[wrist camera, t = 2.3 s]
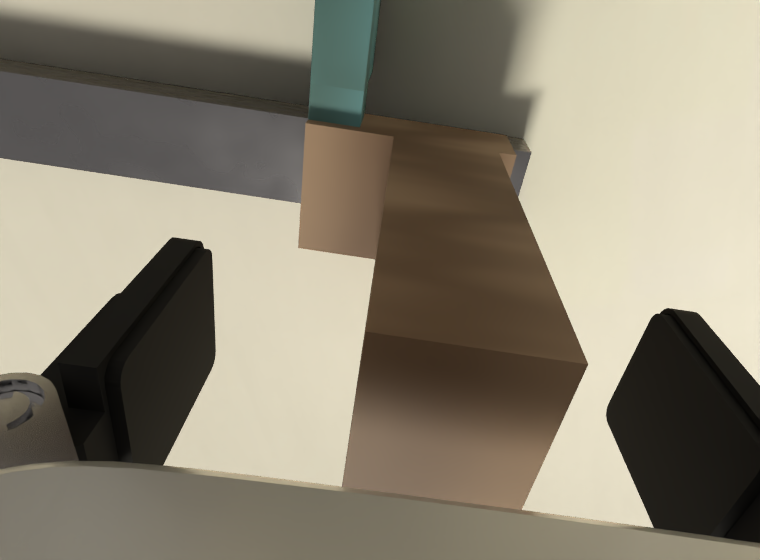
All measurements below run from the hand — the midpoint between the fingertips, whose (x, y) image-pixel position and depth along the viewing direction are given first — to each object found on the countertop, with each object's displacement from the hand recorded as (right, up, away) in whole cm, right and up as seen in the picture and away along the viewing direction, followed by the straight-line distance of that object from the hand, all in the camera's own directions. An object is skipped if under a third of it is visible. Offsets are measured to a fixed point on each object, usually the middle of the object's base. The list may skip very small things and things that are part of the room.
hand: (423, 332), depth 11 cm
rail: (-7, +6, +8) cm, 12 cm away
